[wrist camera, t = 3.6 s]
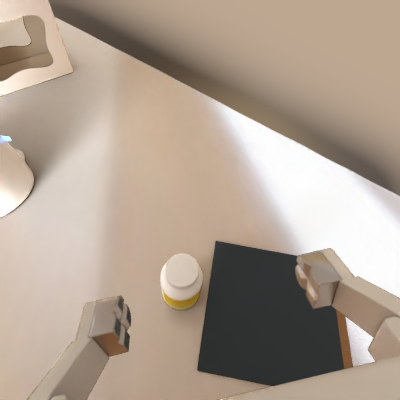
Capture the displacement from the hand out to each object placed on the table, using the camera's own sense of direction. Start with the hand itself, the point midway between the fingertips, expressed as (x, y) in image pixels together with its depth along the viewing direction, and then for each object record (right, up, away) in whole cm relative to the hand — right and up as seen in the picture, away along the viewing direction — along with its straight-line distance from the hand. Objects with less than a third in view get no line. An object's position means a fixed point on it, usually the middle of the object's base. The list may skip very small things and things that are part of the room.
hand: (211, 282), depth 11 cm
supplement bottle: (-3, -10, +25) cm, 27 cm away
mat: (+10, -12, +25) cm, 30 cm away
